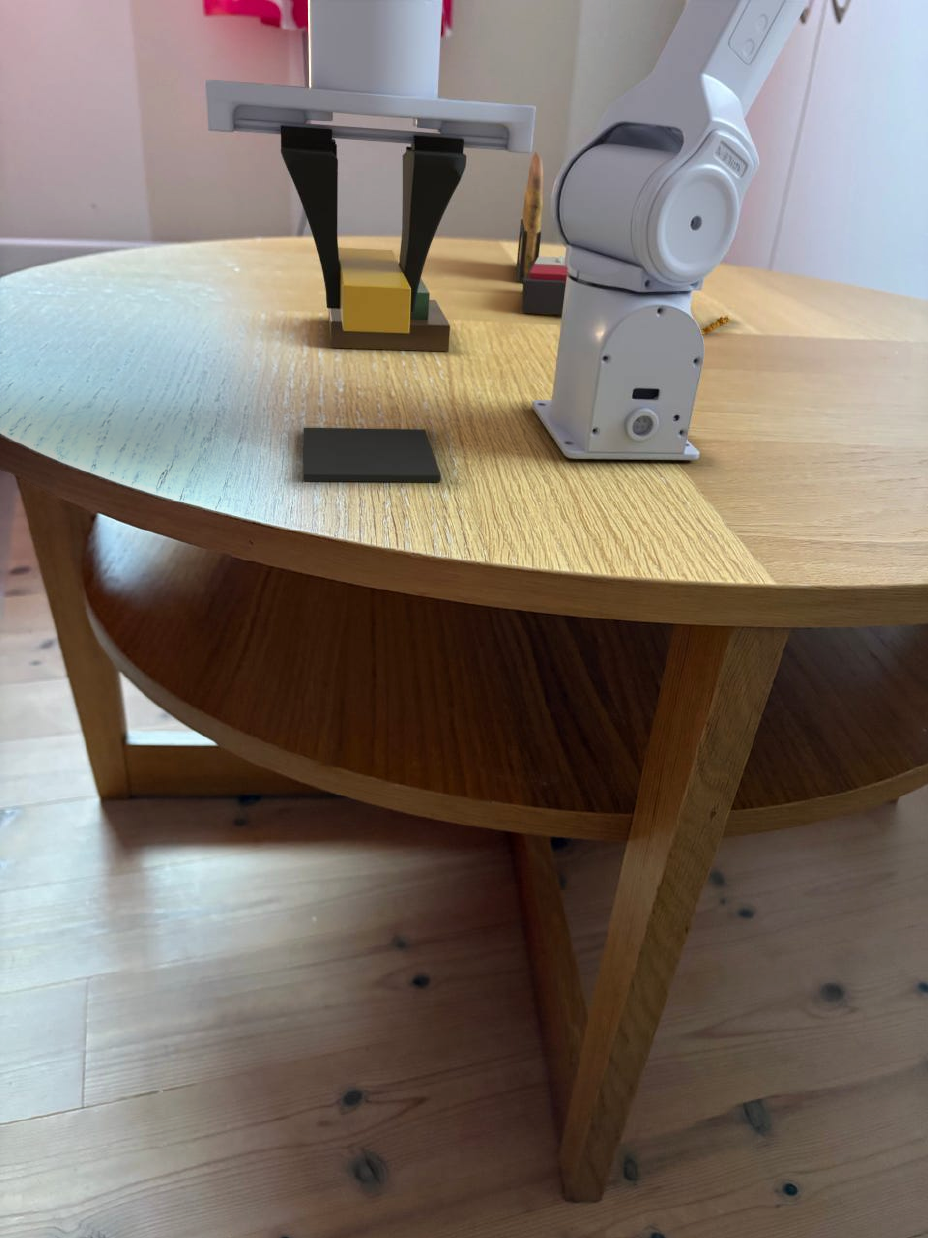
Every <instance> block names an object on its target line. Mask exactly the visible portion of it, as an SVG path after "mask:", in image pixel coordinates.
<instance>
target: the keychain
mask: <svg viewBox="0 0 928 1238" xmlns="http://www.w3.org/2000/svg"><path fill="white" fill-rule="evenodd" d="M730 321H731V320H730V318H729V316H728V315H725V316H724V317H723V316H720V317H719V318H718V319H716V322H712V323H710V324H709V325H706V326H705V327H703V328H702V329H700V330H701V333H702V336H704V335H706V334H708V333H710V332H711V331H714V330H715V329H717V328H719V327H720V326H722V325H726V324H727V323H729V322H730Z"/></svg>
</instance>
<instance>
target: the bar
mask: <svg viewBox="0 0 928 1238" xmlns="http://www.w3.org/2000/svg"><path fill="white" fill-rule="evenodd" d="M338 252H339V264H340V276H341V288H340V311H341V318H342V325H343V331H358V332H386V333H409V327H410V301H411V288H410V286H409V284H408V282H407V280H406V277H405V275H404V273H403V271H402V269H401V267H400V265H399V260H398V259H397V256H396V254H395V253H394V251H393V249H375V248H356V247H338Z"/></svg>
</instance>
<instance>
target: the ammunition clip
mask: <svg viewBox="0 0 928 1238" xmlns="http://www.w3.org/2000/svg"><path fill="white" fill-rule="evenodd" d="M543 185H544V166H543V161H542V157H541V156H540V155H539V153H538V152H537V151H535V152H534V154H533V156H532V158H531V162H530V166H529V170H528V177H527V183H526V189H525V193H524V197H523V199H524V200H523V208H522V218H521V219H520V227H519V237H518V247H517V257H516V273H517V280H518V281H517V282H518V283H520V284H523V280H524V278H525V276H526V274H527V273H528V271H529V269H530V267H531V266H532V264H533V262H536V260H537V258H538V257H540V247H541V239H542V232H541V231H542V230H541V225H542V217H543V216H542V215H543V207H544V206H543V191H544V190H543V189H544V188H543Z"/></svg>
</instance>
